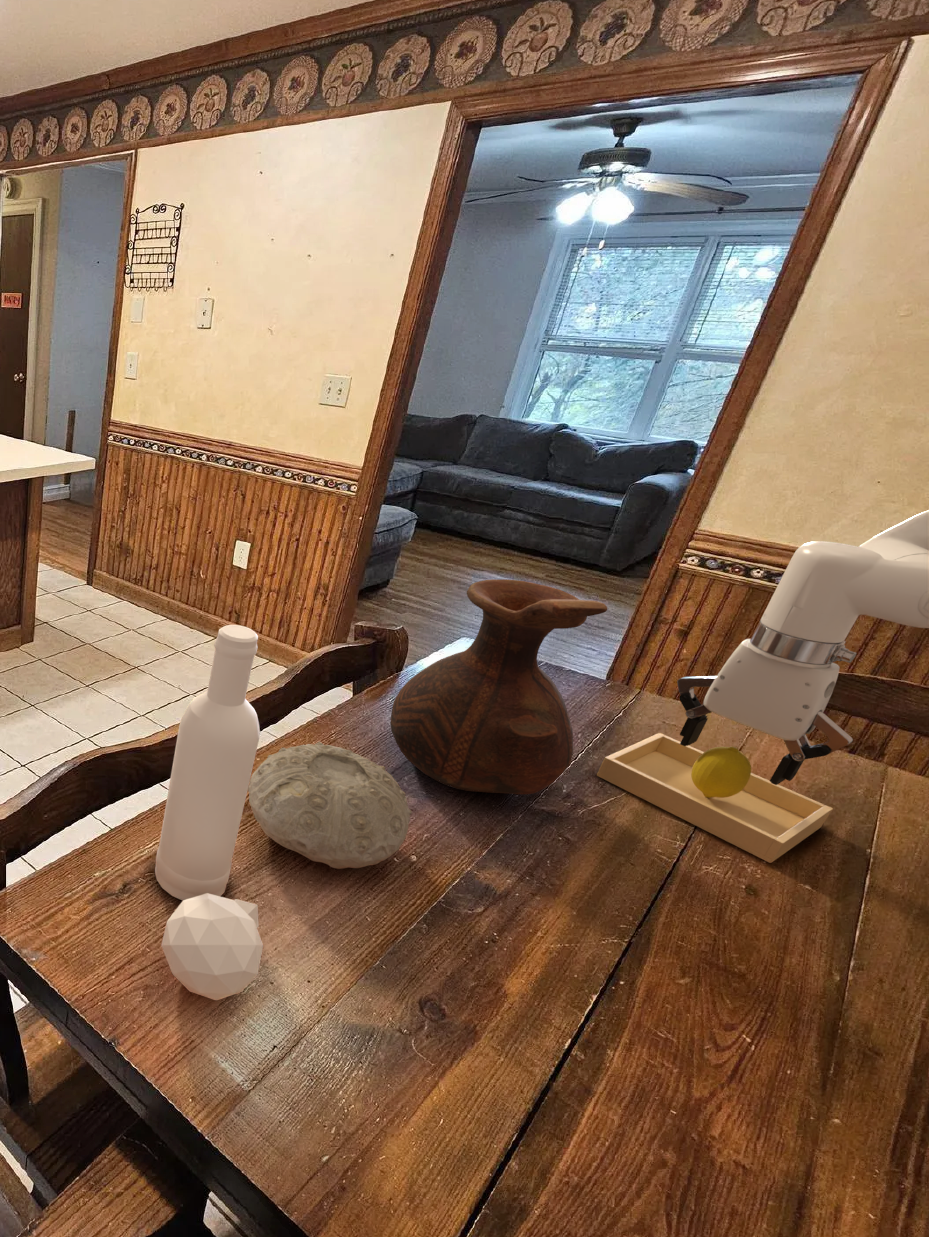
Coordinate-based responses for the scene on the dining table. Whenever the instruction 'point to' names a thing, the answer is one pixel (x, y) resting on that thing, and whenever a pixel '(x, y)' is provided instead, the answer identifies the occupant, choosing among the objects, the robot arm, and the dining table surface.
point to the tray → (715, 798)
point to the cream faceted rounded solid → (213, 945)
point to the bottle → (210, 774)
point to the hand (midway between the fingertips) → (730, 761)
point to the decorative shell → (329, 805)
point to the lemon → (721, 772)
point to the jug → (494, 697)
